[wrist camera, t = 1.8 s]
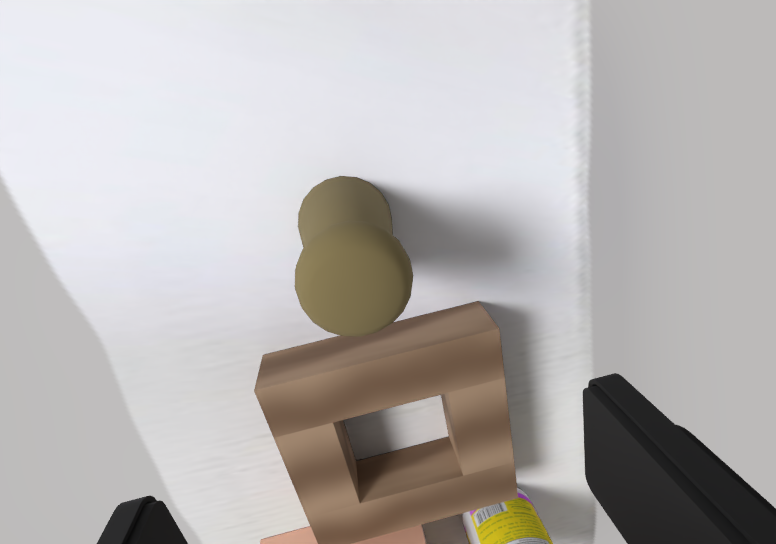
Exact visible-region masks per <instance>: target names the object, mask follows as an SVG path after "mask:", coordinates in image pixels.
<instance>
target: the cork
mask: <svg viewBox="0 0 776 544" xmlns="http://www.w3.org/2000/svg"><path fill="white" fill-rule="evenodd" d="M298 228H299V232H300V236H301V240H302V244H303V247H304V248H303V250H302V252H301V255H300V257H299V260H298V263H297V265H296V269H295V290H296V293H297V296H298V299H299V302H300V304H301V307H302V309H303V310H304V311H305V313H306V314H307V315H308V316H309V318H310V319H311V320H312V322H314V323H315V324H317V325H318V326H320V327H321V328H323V329H324V330H326V331H328V332H331V333H334V334H337V335H341V336H353V337H361V336H365V335H369V334H373V333H376V332H378V331H380V330H382V329H383V328H385V327H387V326H389V325H390V324H392V323H393V322H394V321H395V320H396V319H397V318H398V317H399V315H400V314H401V313H402V312H403V311H404V309H405V307H406V305H407V303H408V301H409V299H410V296H411V289H412V282H413V272H412V267H411V263H410V259H409V257H408V255H407V253H406V252H405V250H404V248H403V247H402V245H401V244H400V242H399V240H398V239H397V238H395V237H394V236H393V232H392V218H391V213H390V209H389V205H388V203H387V202H386V200H385V198H384V196H383V195H382V193H381V192H380V191H379V190H378V189H376V188H375V187H374V186H373V185H372V184H371V183H369V182H366V181H364V180H362V179H359V178H357V177H346V176H339V177H335V178H331V179H327V180H325V181H323V182H322V183H320V184H318V185H317V186H315V187H314V188H313V189H312V190H311V191H310V192H309V193H308V195H307V196H306V197H305V198H304V200H303V203H302V205H301V208H300V211H299V217H298Z"/></svg>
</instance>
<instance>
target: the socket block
mask: <svg viewBox="0 0 776 544" xmlns="http://www.w3.org/2000/svg"><path fill="white" fill-rule="evenodd" d="M254 391H255V394H256V396H257V399H258V401H259V403H260V406H261V408H262V411H263V413H264V415H265V418H266V420H267V423H268V425H269V428H270V430H271V432H272V435H273V437H274V440H275V442H276V444H277V447H278V449H279V452H280V454H281V456H282V459H283V461H284V464H285V466H286V468H287V471H288V473H289V476H290V478H291V480H292V483H293V485H294V488H295V490H296V492H297V495H298V497H299V500H300V502H301V505H302V507H303V509H304V512H305V514H306V517H307V519H308V521H309V524H310V526H311V529H312V531H313V533H314V536H315V538H316V541H317V543H318V544H353V543H356V542H360V541H363V540H367V539H371V538H374V537H378V536H382V535H385V534H389V533H393V532H396V531H400V530H404V529H407V528H411V527H415V526H418V525H422V524H425V523H429V522H433V521H436V520H440V519H444V518H447V517H451V516H455V515H458V514H462V513H466V512H469V511H473V510H476V509H480V508H484V507H487V506H491V505H495V504H498V503H502V502H506V501H509V500H513V499H517V498H518V492H517V483H516V474H515V465H514V456H513V447H512V438H511V429H510V420H509V411H508V402H507V393H506V384H505V376H504V367H503V358H502V349H501V340H500V331H499V327H498V326H497V325H496V324H495V322H494V321H493V320H492V318H491V317H490V316H489V314H488V313H487V312H486V310H485V309H484V308H483V306H482V305H481V304H480V302H479V301H477V302H473V303H469V304H465V305H461V306H457V307H453V308H449V309H445V310H441V311H437V312H433V313H429V314H425V315H421V316H417V317H413V318H409V319H405V320H401V321H397V322H393V323H392V324H390V325H389V326H387V327H385V328H383V329H382V330H380V331H378V332H376V333H373V334H369V335H365V336H361V337H353V336H337V337H333V338H329V339H325V340H321V341H317V342H313V343H309V344H305V345H301V346H297V347H293V348H289V349H285V350H281V351H277V352H273V353H269V354H265V355H263V357H262V361H261V365H260V369H259V373H258V377H257V381H256V385H255V389H254ZM437 395H441V398H442V403H443V408H444V413H445V418H446V424H447V429H448V434H449V437H446V438H442V439H438V440H434V441H431V442H427V443H423V444H419V445H416V446H412V447H408V448H404V449H401V450H397V451H393V452H389V453H385V454H382V455H378V456H374V457H370V458H367V459H363V460H359V461H356V459H355V456H354V453H353V450H352V447H351V443H350V440H349V437H348V434H347V431H346V428H345V425H344V422H343V420H345V419H349V418H352V417H356V416H360V415H364V414H368V413H372V412H376V411H379V410H383V409H387V408H391V407H395V406H399V405H403V404H406V403H410V402H414V401H418V400H422V399H426V398H429V397H433V396H437Z"/></svg>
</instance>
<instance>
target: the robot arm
mask: <svg viewBox="0 0 776 544" xmlns="http://www.w3.org/2000/svg"><path fill="white" fill-rule="evenodd" d="M583 416H584V449H585V475H586V480H587V483H588V485H589V487H590V489H591V491H592V493H593V494H594V496H595V497H596V499H597V500H598V501H599V503H600V504H601V506H602V507H603V509H604V510H605V512H606V513H607V515H608V516H609V517H610V519H611V520H612V522H613V523H614V525H615V526H616V528H617V529H618V531H619V532H620V533H621V534H622V536H623V538H624V539H625V540H626V542H627V543H628V544H776V509H775V508H774V507H773V506H772V505H771V504H770V503H769V502H768V501H767V500H766V499H764V498H763V497H762V496H761V495H760V494H759V493H758V492H757V491H755V490H754V489H753V488H752V487H751V486H750V485H749V484H748V483H746V482H745V481H744V480H743V479H742V478H741V477H740V476H739V475H738V474H736V473H735V472H734V471H733V470H732V469H731V468H730V467H729V466H728V465H726V464H725V463H724V462H723V461H722V460H721V459H720V458H718V457H717V456H716V455H715V454H714V453H713V452H712V451H711V450H710V449H708V448H707V447H706V446H705V445H704V444H703V443H702V442H701V441H700V440H698V439H697V438H696V437H695V436H694V435H693V434H691V433H690V432H689V431H688V430H686V429H685V428H683V427H681V426H678V425H675V424H674V423H672V422H671V421H670V420H669V419H668V418H667V417H666V416H665V415H664V414H663V413H662V412H660V411H659V410H658V409H657V408H656V407H655V406H654V405H653V404H652V403H651V402H650V401H648V400H647V399H646V398H645V397H644V396H643V395H642V394H641V393H640V392H638V391H637V390H636V389H635V388H634V387H633V386H632V385H631V384H630V383H629V382H627V381H626V380H625V379H624V378H623V377H622V376H621V375H619V374H616V373H615V374H611V375H607V376H603V377H599V378H596V379H592V380H590V381H589V385H588V388H585V389H584V390H583ZM97 544H188V543H187V541H186V540H185V538H184V536H183V534H182V533H181V531H180V529H179V528H178V526H177V524H176V522H175V521H174V519H173V517H172V516H171V514H170V512H169V510H168V509H167V507H166V505H165V504H164V503H163V501H157V500H156V499H155V498H154V497H152V496H146V497H142V498H139V499H135V500H131V501H127V502H124V503H121V504H120V505H118V506H117V508H116V509H115V511H114V512H113V514H112V516H111V518H110V520H109V522H108V524H107V525H106V527H105V529H104V531H103V533H102V535H101V537H100V539H99V541H98V543H97Z"/></svg>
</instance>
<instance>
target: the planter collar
mask: <svg viewBox="0 0 776 544" xmlns="http://www.w3.org/2000/svg"><path fill="white" fill-rule="evenodd" d="M260 544H318V543H317V541H316V538H315V536H314V533H313V531H312V529H311V526H310V527H306V528H302V529H299V530H295V531H291V532H288V533H284V534H280V535H277V536H273V537H269V538H265V539H262V540H261V541H260ZM353 544H427V542H426V538H425V534H424V530H423V526H422V525H418V526H415V527H411V528H407V529H404V530H400V531H396V532H393V533H389V534H385V535H382V536H378V537H374V538H371V539H367V540H363V541H360V542H356V543H353Z"/></svg>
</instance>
